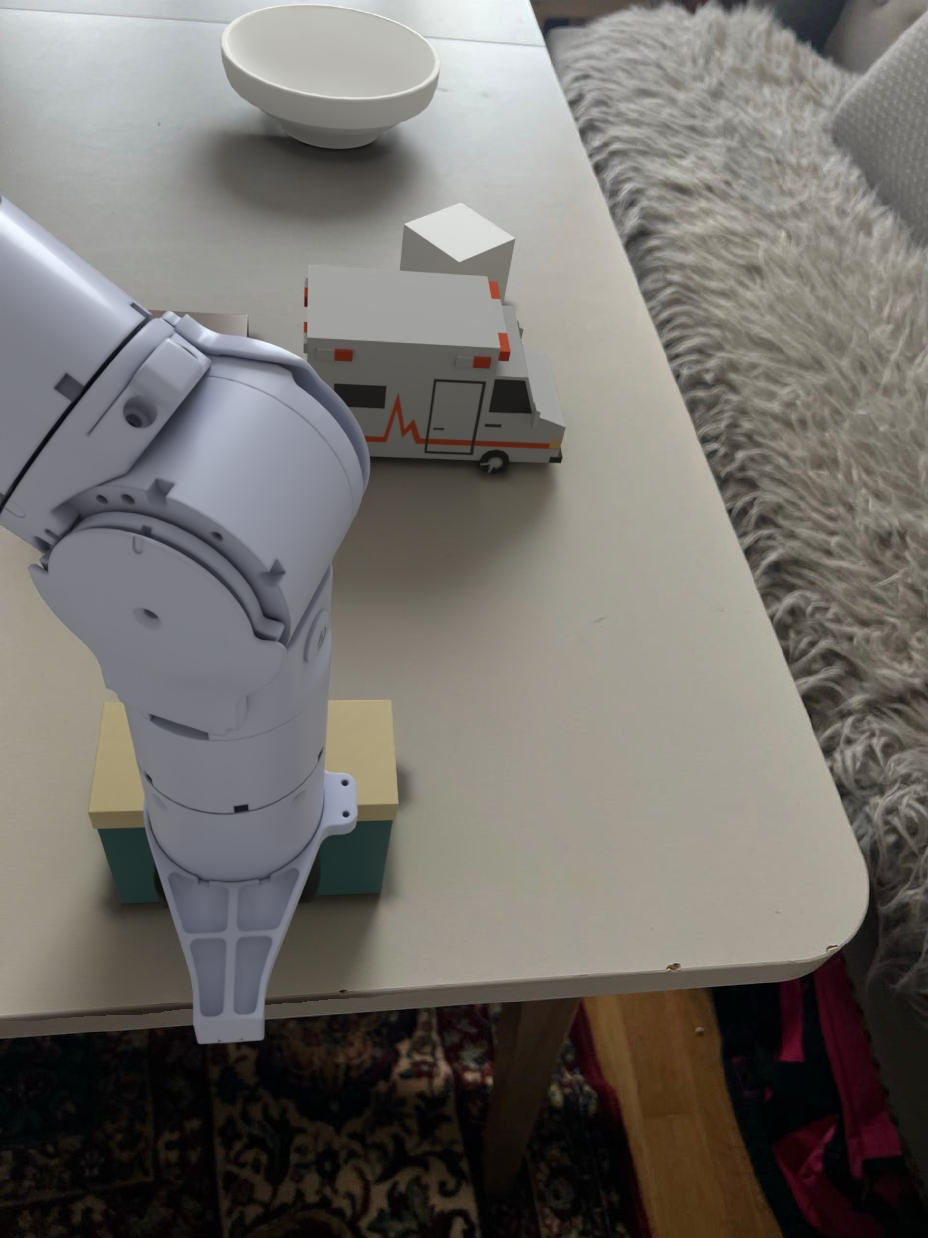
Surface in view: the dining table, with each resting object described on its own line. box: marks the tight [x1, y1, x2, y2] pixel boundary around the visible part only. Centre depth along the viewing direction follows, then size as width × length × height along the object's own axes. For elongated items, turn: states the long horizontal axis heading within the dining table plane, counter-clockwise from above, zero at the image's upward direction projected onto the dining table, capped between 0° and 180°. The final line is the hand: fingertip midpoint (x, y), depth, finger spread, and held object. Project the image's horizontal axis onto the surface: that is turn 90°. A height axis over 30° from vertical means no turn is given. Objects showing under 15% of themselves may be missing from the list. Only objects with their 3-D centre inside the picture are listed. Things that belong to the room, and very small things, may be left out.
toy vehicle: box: [302, 264, 567, 475], centre depth 66 cm, size 10×17×10 cm, turn 95°
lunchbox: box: [87, 699, 399, 905], centre depth 45 cm, size 12×5×9 cm, turn 96°
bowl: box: [219, 3, 442, 150], centre depth 93 cm, size 20×20×7 cm
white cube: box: [399, 202, 516, 305], centre depth 78 cm, size 6×6×6 cm
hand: (246, 911), depth 41 cm, fingers closed
